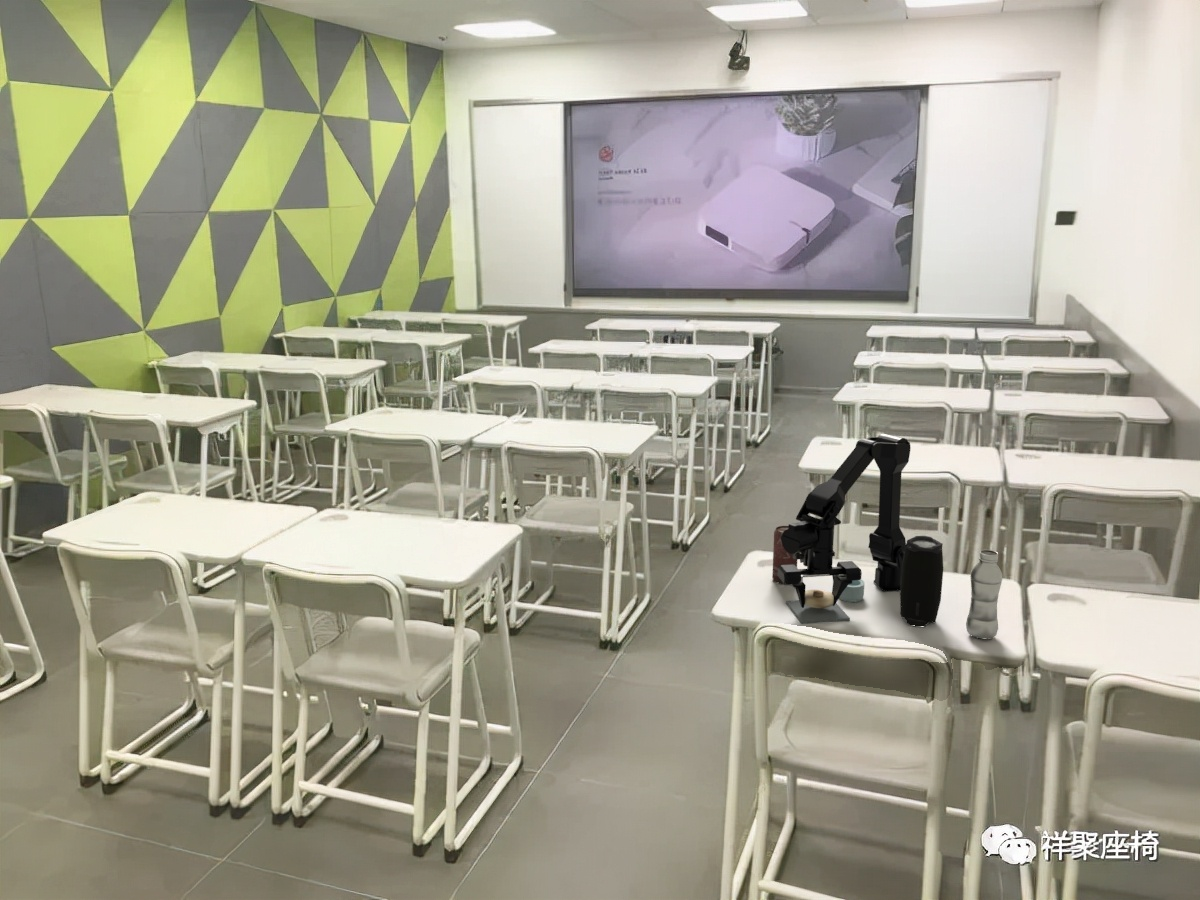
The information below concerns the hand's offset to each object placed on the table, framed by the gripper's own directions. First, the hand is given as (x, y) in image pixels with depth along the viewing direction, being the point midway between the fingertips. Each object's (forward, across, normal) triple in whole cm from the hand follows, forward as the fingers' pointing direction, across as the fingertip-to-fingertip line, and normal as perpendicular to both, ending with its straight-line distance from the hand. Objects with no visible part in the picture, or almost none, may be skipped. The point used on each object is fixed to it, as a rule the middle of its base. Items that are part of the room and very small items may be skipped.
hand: (817, 606), depth 224 cm
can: (+2, +2, -20) cm, 20 cm away
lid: (-1, 0, 0) cm, 1 cm away
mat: (+1, 0, 0) cm, 1 cm away
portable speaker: (+2, -21, +8) cm, 23 cm away
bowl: (+2, -11, -7) cm, 13 cm away
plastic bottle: (+2, -31, +18) cm, 36 cm away
